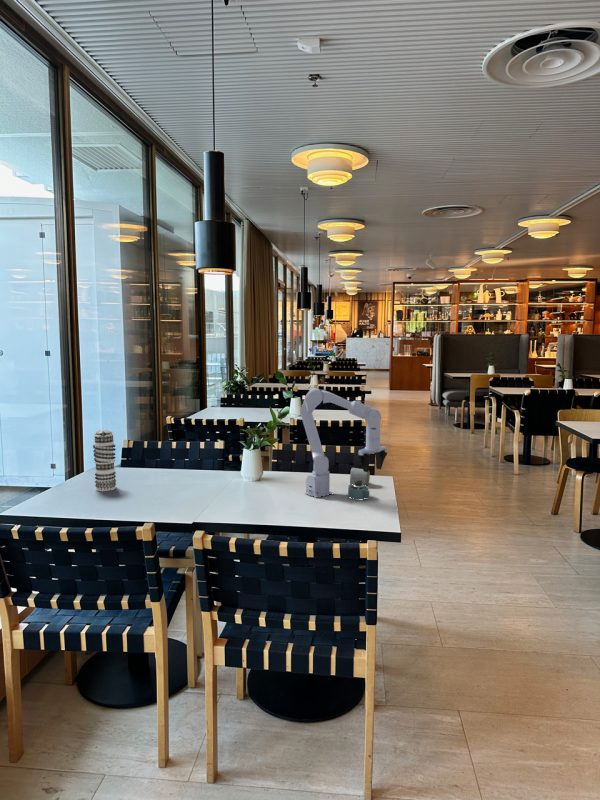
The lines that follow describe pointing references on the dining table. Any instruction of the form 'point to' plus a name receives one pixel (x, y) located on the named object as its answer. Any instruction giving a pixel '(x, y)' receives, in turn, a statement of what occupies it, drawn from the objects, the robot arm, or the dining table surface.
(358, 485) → the black and white knob
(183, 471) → the dining table surface
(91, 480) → the dining table surface
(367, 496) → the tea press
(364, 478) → the ceramic mug
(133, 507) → the dining table surface
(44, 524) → the dining table surface
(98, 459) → the white tiered cylinder
